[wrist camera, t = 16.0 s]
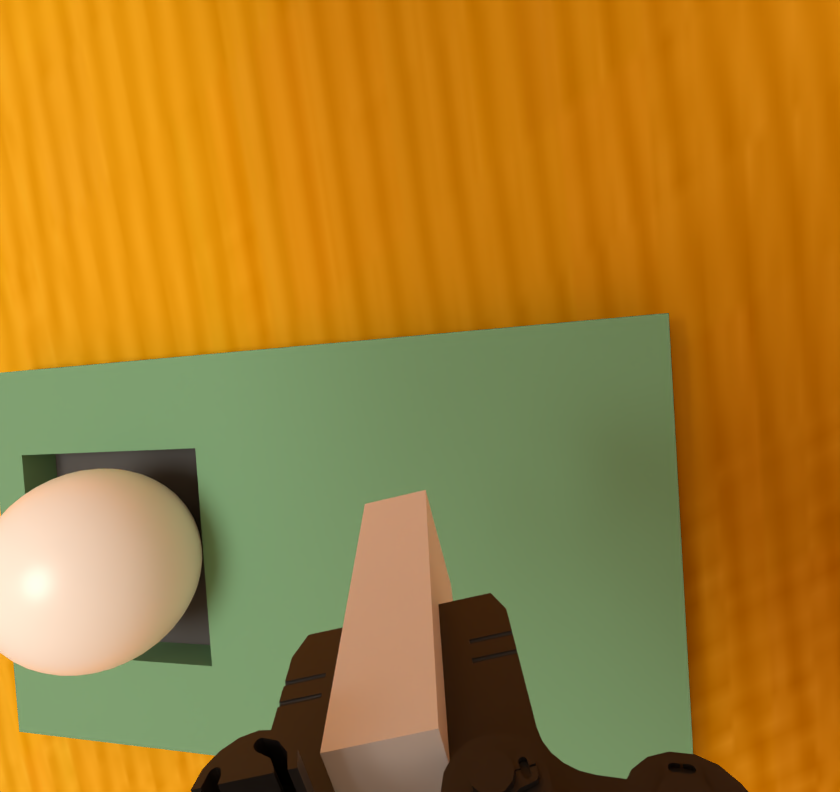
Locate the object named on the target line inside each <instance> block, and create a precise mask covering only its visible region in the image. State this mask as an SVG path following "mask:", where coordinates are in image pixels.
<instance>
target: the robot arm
mask: <svg viewBox="0 0 840 792" xmlns="http://www.w3.org/2000/svg"><path fill="white" fill-rule="evenodd" d="M279 705H280V706H279V707H277V711H276V714H275V718H274V721H273V725H272V728H271V730H258V731H256V732H253V733H250V734H248V735H245V736H242V737H240V738H238V739H237V740H235V741H234V742H232V743H231V744H229V745H228V746H226V747H225V748H223V749H222V750H221V751H219V752H218V753H217V754H216V756H215V757H214V758H213V759H212V760H211V761H210V762H209V763H208V764H207V765H206V766H205V767H204V768H203V770H202V771H201V773H200V775H199V777H198V778H197V780H196V782H195V784H194V785H193V787H192V789H191V792H748V791H747V790H746V789H745V788H744V787H743V785H742V784H741V783H740V782H738V781H737V780H736V779H735V778H734V777H732V776H731V775H730V774H729V773H728V772H726V771H725V770H724V769H723V768H722V767H720V766H719V765H717V764H715V763H713V762H710V761H708V760H706V759H704V758H701V757H699V756H697V755H694V754H687V753H679V752H670V751H669V752H665V753H661V754H657V755H652V756H648V757H647V758H645V759H644V760H643V761H641V762H640V763H639V764H638V765H636V766H635V767H634V768H632V769H631V771H630V773H629V775H628V778H627V779H623V778H616V777H608V776H601V775H595V774H591V773H587V772H583V771H579V770H577V769H575V768H573V767H571V766H569V765H567V764H565V763H563V762H562V761H561V760H560V759H558V758H557V757H556V756H555V755H554V754H552V753H551V752H550V750H549V749H548V748H547V746H546V745H545V744H544V742H543V741H542V739H541V737H540V734H539V732H538V729H537V727H536V723H535V719H534V715H533V711H532V707H531V703H530V699H529V695H528V691H527V688H526V684H525V680H524V676H523V672H522V668H521V664H520V660H519V656H518V653H517V649H516V645H515V641H514V637H513V633H512V629H511V625H510V621H509V617H508V614H507V610H506V608H505V607H504V606H503V605H502V604H501V603H500V602H499V601H498V600H497V599H496V598H495V597H494V596H493V595H492V594H491V593H487V594H483V595H478V596H473V597H469V598H464V599H460V600H455V601H453V597H452V588H451V583H450V579H449V576H448V572H447V568H446V564H445V561H444V557H443V553H442V550H441V546H440V542H439V538H438V535H437V531H436V527H435V523H434V520H433V516H432V512H431V508H430V505H429V501H428V497H427V494H426V490H423V491H419V492H414V493H410V494H406V495H401V496H397V497H393V498H388V499H384V500H380V501H375V502H371V503H367V504H365V506H364V512H363V517H362V523H361V528H360V534H359V539H358V545H357V551H356V556H355V562H354V567H353V573H352V578H351V584H350V589H349V595H348V601H347V606H346V612H345V617H344V623H343V627H342V628H337V629H333V630H328V631H324V632H319V633H314V634H310V635H308V636H307V637H306V639H305V640H304V642H303V643H302V644H301V646H300V647H299V648H298V650H297V651H296V653H295V654H294V655H293V657H292V659H291V662H290V666H289V669H288V673H287V676H286V680H285V686H284V687H283V690H282V694H281V697H280V700H279Z"/></svg>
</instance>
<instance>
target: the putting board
mask: <svg viewBox="0 0 840 792" xmlns="http://www.w3.org/2000/svg"><path fill="white" fill-rule="evenodd" d="M90 469H120V470H127V471H131V472H135V473H139V474H142V475H145V476H147V477H150V478H152V479H154V480H156V481H158V482H160V483H161V484H163V485H165V486H166V487H167V488H169V489H170V490H171V491H172V492H174V493H175V494H176V495H177V496H178V497H179V498H180V499H181V500H182V502H183V503H184V504H185V505H186V506H187V508H188V510H189V511H190V513H191V514H192V516H193V518H194V520H195V523H196V525H197V528H198V530H199V534H200V539H201V545H202V567H201V574H200V578H199V582H198V586H197V588H196V591H195V594H194V596H193V598H192V600H191V602H190V604H189V606H188V608H187V610H186V611H185V613H184V614H183V616H182V617H181V619H180V620H179V621H178V622H177V624H176V625H175V626H174V627H173V629H172V630H171V631H170V632H169V633H168V634H167V635H166V636H165V637H164V638H163V639H161V640H160V641H159V642H158V643H157V644H156V645H154V646H153V647H152V648H150V649H149V650H147V651H146V652H145V653H143V654H142V655H140V656H138V657H136V658H134V659H132V660H131V661H129V662H127V663H125V664H122V665H120V666H117V667H115V668H112V669H109V670H105V671H101V672H98V673H93V674H86V675H78V676H59V675H52V674H45V673H40V672H37V671H33V670H30V669H27V668H25V667H23V666H21V665H18V664H16V663H14V673H15V685H16V696H17V708H18V719H19V731H20V732H27V733H35V734H43V735H51V736H60V737H68V738H76V739H84V740H92V741H101V742H109V743H117V744H125V745H134V746H142V747H150V748H158V749H166V750H175V751H183V752H191V753H199V754H208V755H216V754H217V753H218V752H219V751H221V750H222V749H223V748H225V747H226V746H228V745H229V744H231V743H232V742H234V741H235V740H237V739H238V738H240V737H242V736H245V735H248V734H250V733H253V732H256V731H258V730H271V728H272V725H273V721H274V718H275V714H276V711H277V707H279V706H280V705H279V700H280V697H281V694H282V690H283V687H284V686H285V680H286V676H287V673H288V669H289V666H290V662H291V659H292V657H293V655H294V654H295V653H296V651H297V650H298V648H299V647H300V646H301V644H302V643H303V642H304V640H305V639H306V637H307V636H308V635H310V634H314V633H319V632H324V631H328V630H333V629H337V628H342V627H343V623H344V617H345V612H346V606H347V601H348V595H349V589H350V584H351V578H352V573H353V567H354V562H355V556H356V551H357V545H358V539H359V534H360V528H361V523H362V517H363V512H364V506H365V504H367V503H371V502H375V501H380V500H384V499H388V498H393V497H397V496H401V495H406V494H410V493H414V492H419V491H423V490H426V494H427V497H428V501H429V505H430V508H431V512H432V516H433V520H434V523H435V527H436V531H437V535H438V538H439V542H440V546H441V550H442V553H443V557H444V561H445V564H446V568H447V572H448V576H449V579H450V583H451V588H452V597H453V601H455V600H460V599H464V598H469V597H473V596H478V595H483V594H487V593H491V594H492V595H493V596H494V597H495V598H496V599H497V600H498V601H499V602H500V603H501V604H502V605H503V606H504V607H505V608H506V610H507V614H508V617H509V621H510V625H511V629H512V633H513V637H514V641H515V645H516V649H517V653H518V656H519V660H520V664H521V668H522V672H523V676H524V680H525V684H526V688H527V691H528V695H529V699H530V703H531V707H532V711H533V715H534V719H535V723H536V727H537V729H538V732H539V734H540V737H541V739H542V741H543V742H544V744H545V745H546V746H547V748H548V749H549V750H550V752H551V753H552V754H554V755H555V756H556V757H557V758H558V759H560V760H561V761H562V762H563V763H565V764H567V765H569V766H571V767H573V768H575V769H577V770H579V771H583V772H587V773H591V774H595V775H601V776H608V777H616V778H623V779H627V778H628V775H629V773H630V771H631V769H632V768H634V767H635V766H636V765H638V764H639V763H640V762H641V761H643V760H644V759H645V758H647V757H648V756H652V755H657V754H661V753H665V752H669V751H670V752H679V753H687V754H693V743H692V725H691V707H690V689H689V671H688V653H687V635H686V617H685V599H684V581H683V563H682V545H681V527H680V509H679V491H678V473H677V455H676V437H675V419H674V401H673V383H672V365H671V347H670V329H669V313H664V314H653V315H642V316H631V317H620V318H608V319H597V320H586V321H575V322H564V323H552V324H541V325H530V326H519V327H508V328H497V329H485V330H474V331H463V332H452V333H441V334H429V335H418V336H407V337H396V338H385V339H374V340H362V341H351V342H340V343H329V344H318V345H307V346H295V347H284V348H273V349H262V350H251V351H239V352H228V353H217V354H206V355H195V356H184V357H172V358H161V359H150V360H139V361H128V362H116V363H105V364H94V365H83V366H72V367H61V368H49V369H38V370H27V371H16V372H5V373H0V510H1V515H2V514H3V513H4V512H5V511H6V510H7V509H8V508H9V507H10V506H11V505H12V504H13V503H15V502H16V501H17V500H18V499H19V498H21V497H22V496H23V495H25V494H26V493H28V492H29V491H31V490H32V489H34V488H35V487H37V486H39V485H41V484H43V483H45V482H47V481H49V480H52V479H54V478H57V477H60V476H63V475H65V474H69V473H73V472H77V471H82V470H90Z"/></svg>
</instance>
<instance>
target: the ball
mask: <svg viewBox="0 0 840 792" xmlns="http://www.w3.org/2000/svg"><path fill="white" fill-rule="evenodd" d="M201 567H202V545H201V539H200V534H199V530H198V528H197V525H196V523H195V520H194V518H193V516H192V514H191V513H190V511H189V510H188V508H187V506H186V505H185V504H184V503H183V502H182V500H181V499H180V498H179V497H178V496H177V495H176V494H175V493H174V492H172V491H171V490H170V489H169V488H167V487H166V486H165V485H163V484H161V483H160V482H158V481H156V480H154V479H152V478H150V477H147V476H145V475H142V474H139V473H135V472H131V471H127V470H120V469H90V470H82V471H77V472H73V473H69V474H65V475H63V476H60V477H57V478H54V479H52V480H49V481H47V482H45V483H43V484H41V485H39V486H37V487H35V488H34V489H32V490H31V491H29V492H28V493H26V494H25V495H23V496H22V497H21V498H19V499H18V500H17V501H16V502H15V503H13V504H12V505H11V506H10V507H9V508H8V509H7V510H6V511H5V512H4V513H3V514H2V515H1V516H0V653H1V654H3V655H4V656H6V657H7V658H9V659H10V660H11V661H13V662H14V663H16V664H18V665H21V666H23V667H25V668H27V669H30V670H33V671H37V672H40V673H45V674H52V675H59V676H78V675H86V674H93V673H98V672H101V671H105V670H109V669H112V668H115V667H117V666H120V665H122V664H125V663H127V662H129V661H131V660H132V659H134V658H136V657H138V656H140V655H142V654H143V653H145V652H146V651H147V650H149V649H150V648H152V647H153V646H154V645H156V644H157V643H158V642H159V641H160V640H161V639H163V638H164V637H165V636H166V635H167V634H168V633H169V632H170V631H171V630H172V629H173V627H174V626H175V625H176V624H177V622H178V621H179V620H180V619H181V617H182V616H183V614H184V613H185V611H186V610H187V608H188V606H189V604H190V602H191V600H192V598H193V596H194V594H195V591H196V588H197V586H198V582H199V578H200V574H201Z"/></svg>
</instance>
